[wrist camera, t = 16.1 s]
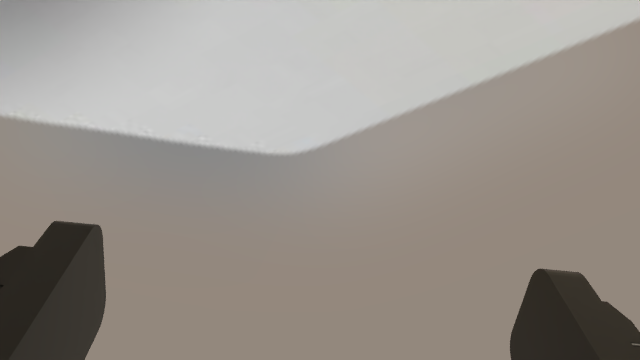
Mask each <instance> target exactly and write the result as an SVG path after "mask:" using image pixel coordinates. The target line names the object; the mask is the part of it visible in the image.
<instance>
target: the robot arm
mask: <svg viewBox="0 0 640 360" xmlns="http://www.w3.org/2000/svg"><path fill="white" fill-rule="evenodd" d="M105 301H106V290H105V270H104V252H103V235H102V230H101V228H100V226H99V225H94V224H82V223H73V222H63V221H54V222H53V223H52V224H51V225H50V226H49V227H48V228H47V230H46V231H45V232H44V234H43V235H42V236H41V238H40V239H39V240H38V242H37V243H36V244H35V245H34V247H26V246H18V247H16V248H14V249H13V250H11V251H9V252H8V253H6V254H4V255H3V256H1V257H0V360H85V357H86V355H87V353H88V351H89V349H90V347H91V345H92V343H93V341H94V338H95V336H96V334H97V332H98V330H99V328H100V325H101V322H102V318H103V314H104V308H105ZM510 353H511V360H640V332H639V331H638V329H637V328H636V327H635V326H634V324H633V323H632V322H631V321H630V320H629V319H628V318H626V317H625V316H624V315H623V314H622V313H620V312H619V311H618V310H617V309H615V308H614V307H613V306H612V305H610V304H609V303H608V302H603V301H601V300H600V298H599V297H598V295H597V294H596V292H595V291H594V290H593V288H592V287H591V285H590V284H589V282H588V281H587V280H586V278H585V277H584V276H583V275H582V274H581V273H579V272H569V271H559V270H548V269H538V270H536V271H535V272H534V273H533V275H532V277H531V279H530V282H529V285H528V288H527V291H526V293H525V296H524V299H523V302H522V305H521V308H520V310H519V313H518V316H517V319H516V322H515V324H514V327H513V330H512V334H511V340H510Z"/></svg>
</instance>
